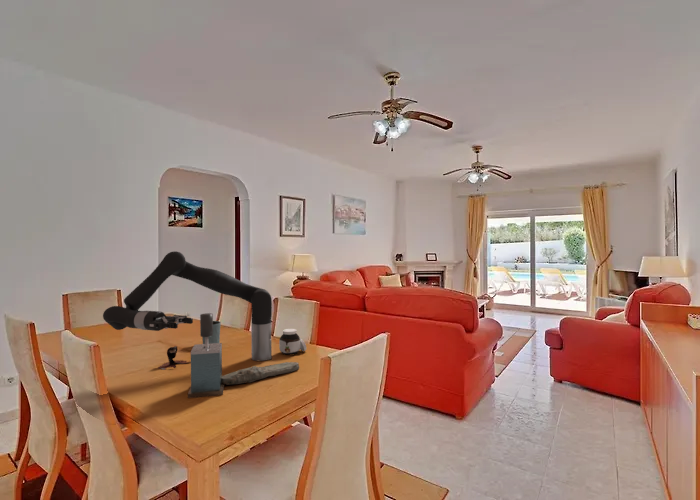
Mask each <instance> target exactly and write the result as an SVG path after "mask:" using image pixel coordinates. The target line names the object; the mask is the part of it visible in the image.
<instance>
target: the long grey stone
mask: <svg viewBox="0 0 700 500" xmlns="http://www.w3.org/2000/svg"><path fill="white" fill-rule="evenodd" d="M299 369H300V365H299V362H298V361H290V362H289V361H285V362H281V363H275V364H269V365H265V366H254V365H253V366H250V367H247V368H246V367H245V368H242V369H238V370H236V371H233V372H232V371H231V372H230V373H227V374H224V375H223V374H222V379H221V380H222V381H221V382H222V383H224V384H225V385H238V384H239V385H241V384H246V383H253V382H255V381H258V380H262V379H266V378H268V377H273V376H274V377H275V376H278V375H281V374H289V373H292V372H295V371H298V370H299Z"/></svg>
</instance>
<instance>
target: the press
mask: <svg viewBox="0 0 700 500" xmlns="http://www.w3.org/2000/svg"><path fill="white" fill-rule="evenodd" d="M222 345H223V344H222V342H220V343H212V344H208V346H209V348H205V344H203V343H201V344H200V343H197V344H194V345H193V347H192V348H191V351H190V386H189V389H188V393H187V398H188V399H191V398H192V399H194V398H203V397H204V398H206V397H215V396H223V395H224V388H225V385H226V384H224V383H222V382H221V381H222V380H221V379H222V376H223V357H222V356H223V351H222V350H223V347H222Z"/></svg>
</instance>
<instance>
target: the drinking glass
mask: <svg viewBox="0 0 700 500" xmlns="http://www.w3.org/2000/svg"><path fill="white" fill-rule="evenodd" d="M220 336H221V321H218V320H213V335H212V336H209V337H208V344H212V343H221V342H220V341H221V340H220V339H221V337H220ZM201 339H202V344H205V337H201Z"/></svg>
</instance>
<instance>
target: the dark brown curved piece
mask: <svg viewBox="0 0 700 500" xmlns="http://www.w3.org/2000/svg"><path fill="white" fill-rule="evenodd" d="M177 352H178V346H177V345H174V346H170V347H169V348H168V349H167V350H166V356H167V359H168V362H164V363H163V364H162V365H159V366H158V367H157V368H158V369H160V370H163V371H164V370H167V368H168V370H169V371H170V370H171V369H170V368H172V369H173V368H174V369H176V368H177V365H176V364H189V363H190V360H189V361H187V360H183V359H182V360H181V359H180V360H174V359H175V358H176V356H177Z"/></svg>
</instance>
